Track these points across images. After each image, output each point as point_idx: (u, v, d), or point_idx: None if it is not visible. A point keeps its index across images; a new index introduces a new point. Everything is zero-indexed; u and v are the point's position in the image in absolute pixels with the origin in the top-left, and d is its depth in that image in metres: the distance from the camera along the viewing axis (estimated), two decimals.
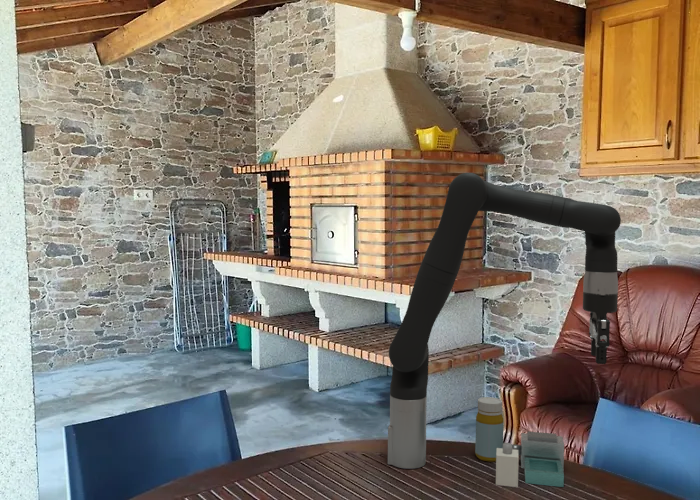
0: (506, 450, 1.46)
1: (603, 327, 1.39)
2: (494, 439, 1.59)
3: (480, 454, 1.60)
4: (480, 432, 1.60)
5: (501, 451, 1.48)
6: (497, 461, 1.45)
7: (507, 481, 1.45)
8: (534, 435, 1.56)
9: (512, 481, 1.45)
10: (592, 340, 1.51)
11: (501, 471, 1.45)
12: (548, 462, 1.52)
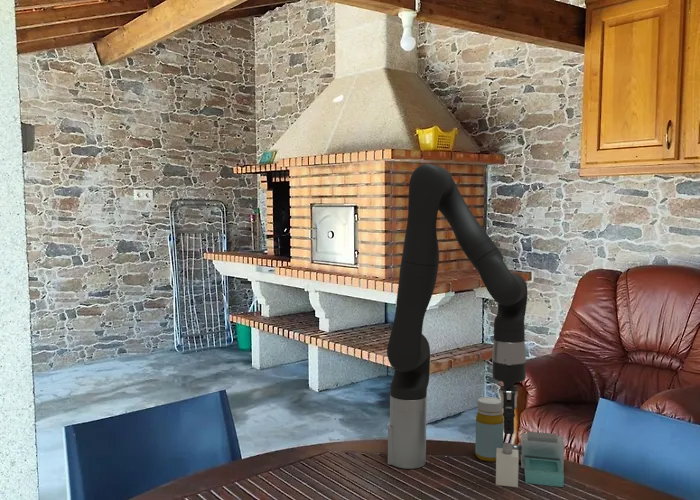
0: (506, 450, 1.46)
1: (508, 398, 1.40)
2: (494, 439, 1.59)
3: (480, 454, 1.60)
4: (480, 432, 1.60)
5: (501, 451, 1.48)
6: (497, 461, 1.45)
7: (507, 481, 1.45)
8: (534, 435, 1.56)
9: (512, 481, 1.45)
10: None
11: (501, 471, 1.45)
12: (548, 462, 1.52)
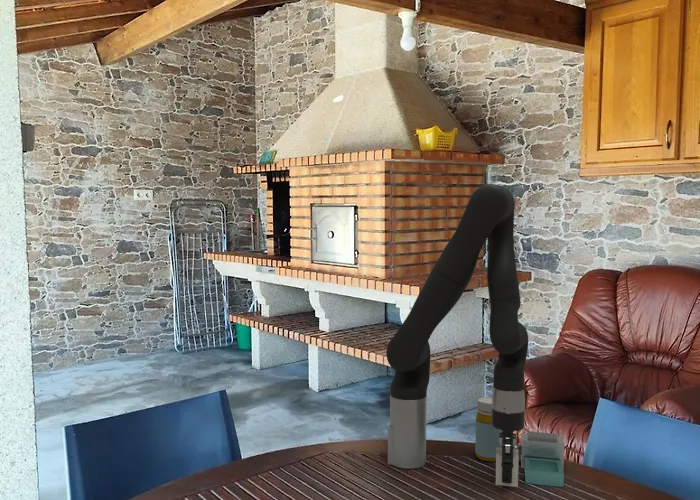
0: None
1: (507, 452, 1.41)
2: (494, 439, 1.59)
3: (480, 454, 1.60)
4: (480, 432, 1.60)
5: None
6: (497, 461, 1.45)
7: None
8: (534, 435, 1.56)
9: (512, 481, 1.45)
10: None
11: (501, 471, 1.45)
12: (548, 462, 1.52)
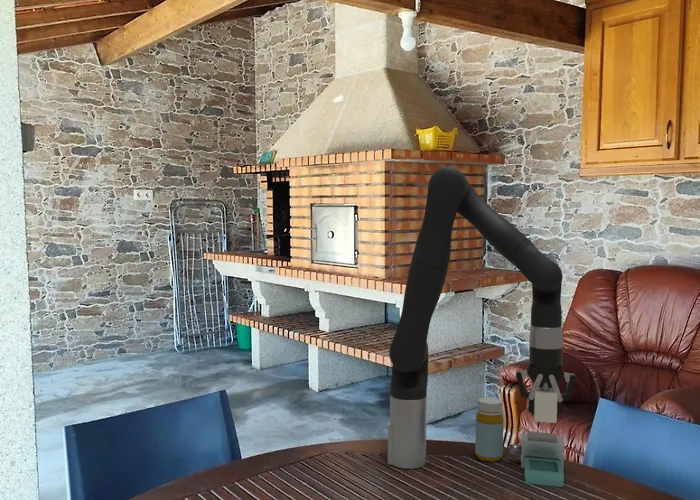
0: None
1: None
2: (494, 439, 1.59)
3: (480, 454, 1.60)
4: (480, 432, 1.60)
5: None
6: None
7: None
8: (534, 435, 1.56)
9: (534, 414, 1.48)
10: None
11: None
12: (548, 462, 1.52)
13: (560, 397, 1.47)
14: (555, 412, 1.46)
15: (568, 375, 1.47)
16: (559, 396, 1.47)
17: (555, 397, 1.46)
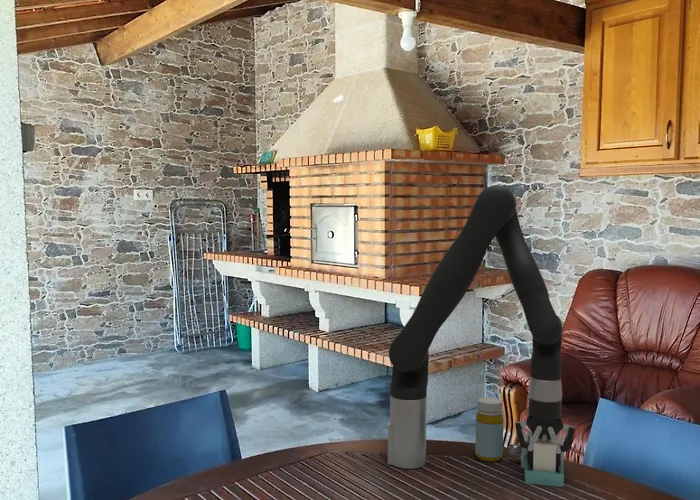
0: None
1: None
2: (494, 439, 1.59)
3: (480, 454, 1.60)
4: (480, 432, 1.60)
5: None
6: None
7: None
8: None
9: None
10: None
11: None
12: None
13: (559, 449, 1.47)
14: (554, 464, 1.46)
15: (567, 427, 1.47)
16: (558, 448, 1.47)
17: (554, 449, 1.46)
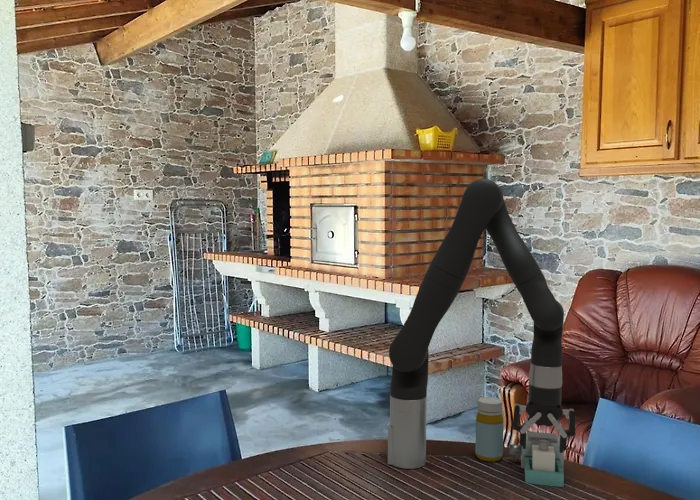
0: (539, 445, 1.50)
1: None
2: (494, 439, 1.59)
3: (480, 454, 1.60)
4: (480, 432, 1.60)
5: None
6: None
7: None
8: (534, 435, 1.56)
9: None
10: (561, 435, 1.49)
11: None
12: None
13: (565, 433, 1.47)
14: None
15: (567, 412, 1.47)
16: (563, 432, 1.47)
17: (553, 458, 1.46)
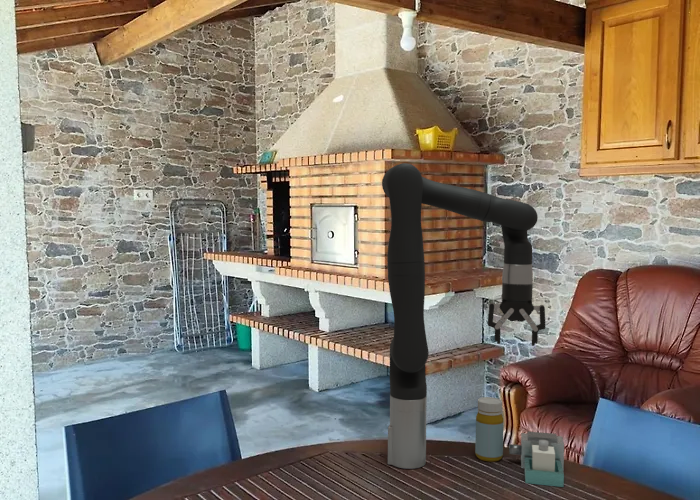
0: (539, 445, 1.50)
1: None
2: (494, 439, 1.59)
3: (480, 454, 1.60)
4: (480, 432, 1.60)
5: None
6: None
7: None
8: (534, 435, 1.56)
9: None
10: None
11: None
12: None
13: (536, 327, 1.58)
14: None
15: (537, 307, 1.58)
16: (534, 326, 1.58)
17: (553, 458, 1.46)
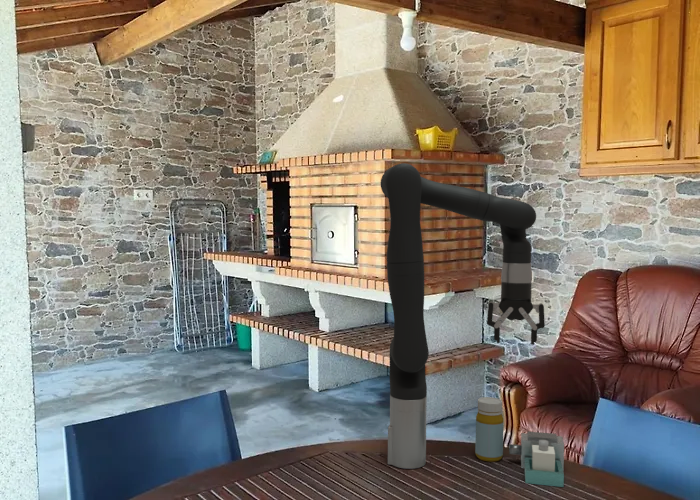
0: (539, 445, 1.50)
1: None
2: (494, 439, 1.59)
3: (480, 454, 1.60)
4: (480, 432, 1.60)
5: None
6: None
7: None
8: (534, 435, 1.56)
9: None
10: None
11: None
12: None
13: (535, 326, 1.58)
14: None
15: (537, 306, 1.58)
16: (533, 325, 1.58)
17: (553, 458, 1.46)
